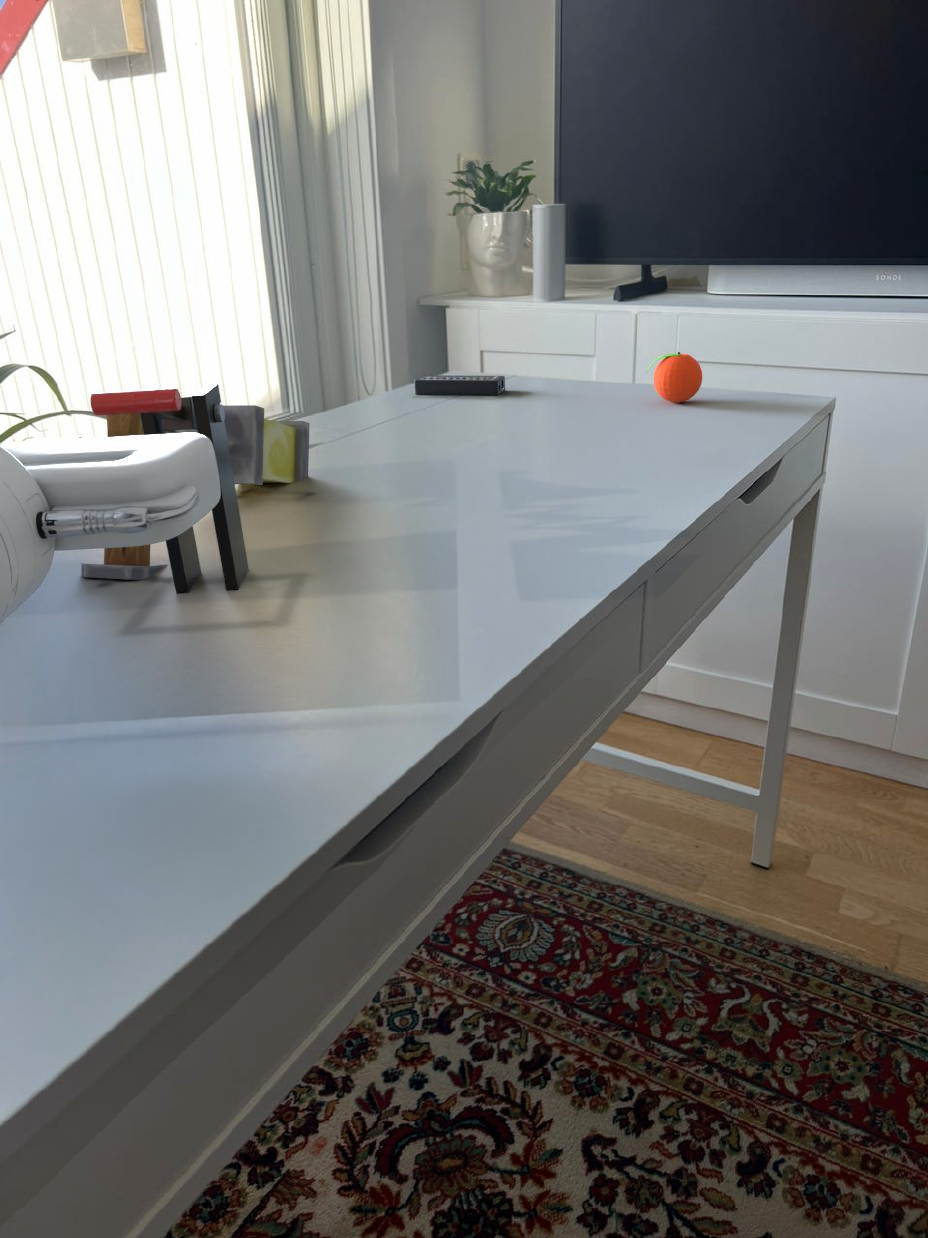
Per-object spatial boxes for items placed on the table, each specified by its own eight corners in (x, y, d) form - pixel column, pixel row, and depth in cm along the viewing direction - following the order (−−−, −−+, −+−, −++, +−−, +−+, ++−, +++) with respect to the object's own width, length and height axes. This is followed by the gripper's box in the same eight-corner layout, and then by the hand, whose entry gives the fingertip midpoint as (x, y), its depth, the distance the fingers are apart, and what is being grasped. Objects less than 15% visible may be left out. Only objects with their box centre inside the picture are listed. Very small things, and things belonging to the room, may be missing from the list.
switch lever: (176, 417, 60) (173, 378, 59) (92, 422, 60) (87, 384, 59) (225, 430, 72) (222, 398, 71) (154, 434, 72) (151, 403, 71)
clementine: (649, 408, 132) (650, 357, 129) (642, 399, 138) (643, 350, 135) (705, 405, 132) (708, 354, 129) (696, 396, 138) (698, 347, 135)
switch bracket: (278, 617, 72) (244, 399, 65) (124, 626, 72) (74, 409, 65) (297, 570, 81) (270, 374, 74) (161, 578, 81) (120, 384, 74)
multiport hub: (424, 388, 156) (423, 374, 155) (506, 389, 151) (505, 375, 150) (414, 394, 152) (413, 379, 151) (497, 395, 147) (496, 380, 146)
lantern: (244, 571, 107) (67, 576, 78) (247, 422, 106) (69, 371, 77) (305, 574, 105) (146, 580, 76) (309, 423, 104) (149, 370, 75)
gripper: (166, 447, 37) (237, 383, 50) (-334, 474, 38) (-138, 404, 50) (193, 590, 40) (254, 495, 53) (-274, 615, 40) (-102, 515, 53)
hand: (60, 451), depth 51 cm, fingers closed
